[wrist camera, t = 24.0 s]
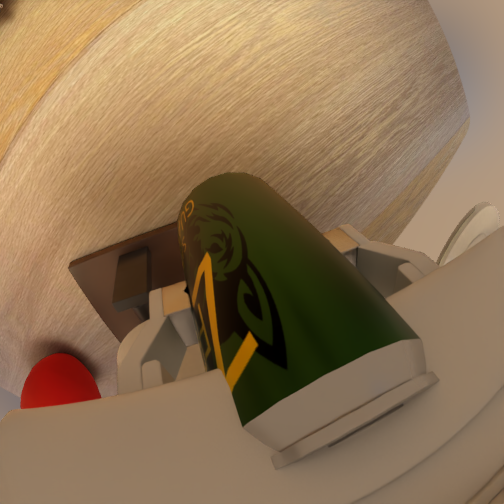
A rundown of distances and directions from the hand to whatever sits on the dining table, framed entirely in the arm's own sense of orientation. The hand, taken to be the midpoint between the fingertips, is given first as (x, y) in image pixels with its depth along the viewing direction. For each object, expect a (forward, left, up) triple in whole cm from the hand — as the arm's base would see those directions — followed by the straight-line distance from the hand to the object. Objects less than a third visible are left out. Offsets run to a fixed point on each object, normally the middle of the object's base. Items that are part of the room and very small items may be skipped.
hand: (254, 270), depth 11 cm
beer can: (0, 0, -5) cm, 5 cm away
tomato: (-18, +26, -15) cm, 35 cm away
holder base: (-11, +8, -15) cm, 20 cm away
